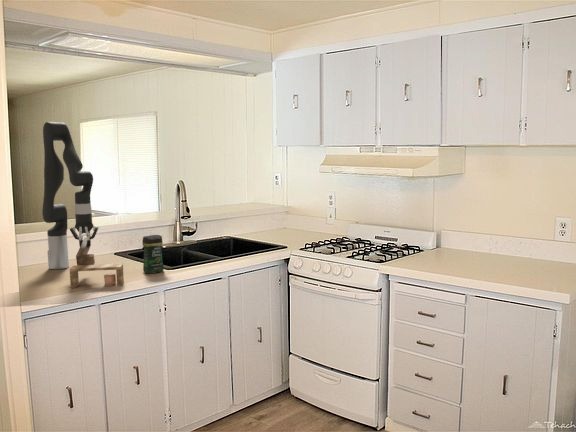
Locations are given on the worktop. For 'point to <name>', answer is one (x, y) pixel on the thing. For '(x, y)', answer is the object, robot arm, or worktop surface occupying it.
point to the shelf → (74, 270)
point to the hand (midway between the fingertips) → (85, 247)
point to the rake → (84, 255)
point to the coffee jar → (152, 254)
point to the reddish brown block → (110, 279)
